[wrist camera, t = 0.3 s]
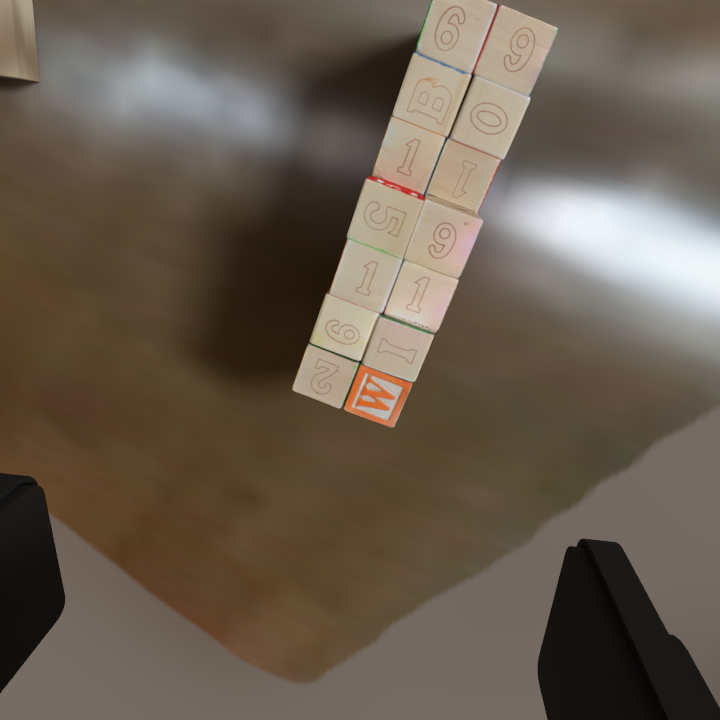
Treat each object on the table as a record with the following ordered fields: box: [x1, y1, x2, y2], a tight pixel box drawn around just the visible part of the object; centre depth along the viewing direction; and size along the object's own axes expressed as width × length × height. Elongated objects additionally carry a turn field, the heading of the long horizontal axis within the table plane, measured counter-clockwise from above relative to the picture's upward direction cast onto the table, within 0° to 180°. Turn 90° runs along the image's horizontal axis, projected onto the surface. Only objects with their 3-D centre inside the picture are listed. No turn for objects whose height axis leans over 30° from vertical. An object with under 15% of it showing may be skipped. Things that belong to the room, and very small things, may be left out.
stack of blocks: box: [292, 0, 558, 427], centre depth 31 cm, size 21×6×12 cm, turn 160°
